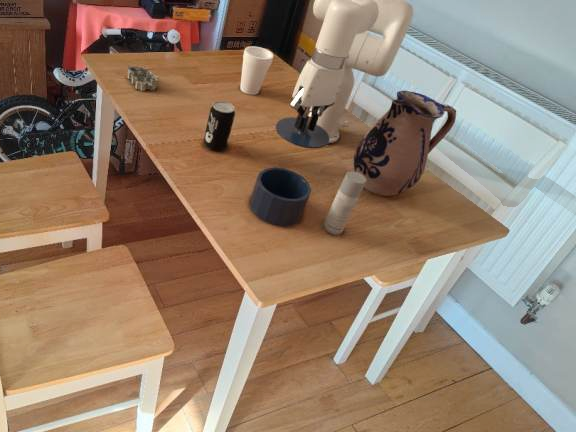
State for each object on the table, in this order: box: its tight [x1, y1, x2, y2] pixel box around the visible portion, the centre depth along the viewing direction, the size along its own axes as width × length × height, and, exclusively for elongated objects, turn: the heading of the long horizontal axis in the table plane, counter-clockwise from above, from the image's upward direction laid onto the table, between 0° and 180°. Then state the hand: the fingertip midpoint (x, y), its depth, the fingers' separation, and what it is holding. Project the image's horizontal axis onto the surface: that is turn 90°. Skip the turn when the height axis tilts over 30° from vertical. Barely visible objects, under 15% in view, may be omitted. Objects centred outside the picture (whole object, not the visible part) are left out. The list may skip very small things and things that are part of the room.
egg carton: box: [127, 65, 160, 92], centre depth 160 cm, size 11×8×4 cm
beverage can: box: [203, 100, 236, 152], centre depth 136 cm, size 7×7×12 cm
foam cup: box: [239, 45, 274, 96], centre depth 166 cm, size 10×9×13 cm
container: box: [322, 170, 366, 236], centre depth 116 cm, size 5×5×15 cm
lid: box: [275, 112, 329, 149], centre depth 127 cm, size 14×14×6 cm
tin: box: [249, 166, 312, 227], centre depth 121 cm, size 13×13×8 cm
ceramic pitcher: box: [352, 90, 457, 197], centre depth 131 cm, size 18×21×25 cm
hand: (303, 128), depth 127 cm, fingers closed on lid, 2 cm apart
